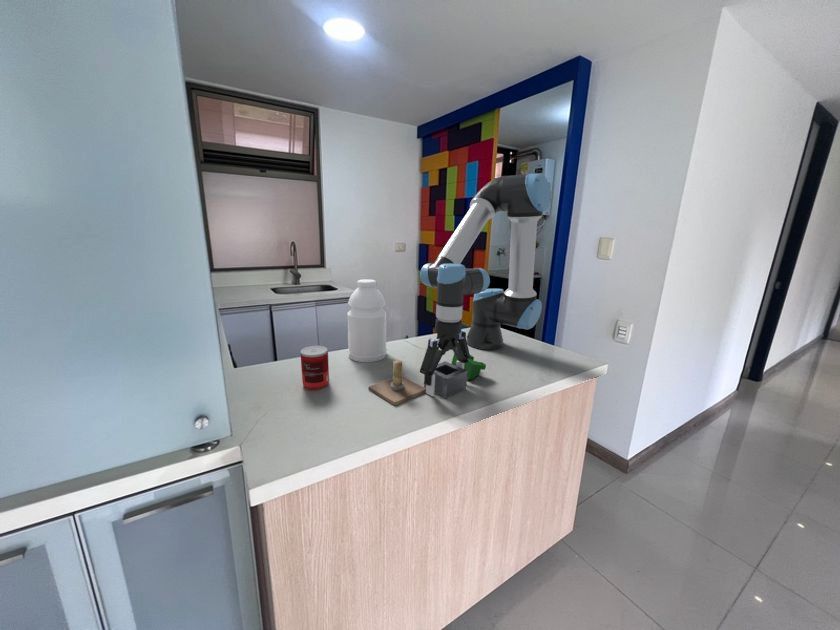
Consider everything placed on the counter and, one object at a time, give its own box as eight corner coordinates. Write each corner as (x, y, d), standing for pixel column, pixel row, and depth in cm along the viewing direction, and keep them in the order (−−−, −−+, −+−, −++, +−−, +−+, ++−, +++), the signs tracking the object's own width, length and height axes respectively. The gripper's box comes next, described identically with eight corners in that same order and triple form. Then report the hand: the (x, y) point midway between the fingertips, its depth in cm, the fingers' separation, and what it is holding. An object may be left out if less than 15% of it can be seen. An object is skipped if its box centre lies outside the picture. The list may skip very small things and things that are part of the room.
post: (399, 377, 106) (400, 351, 104) (426, 391, 98) (427, 363, 96) (368, 389, 98) (368, 361, 96) (394, 405, 90) (394, 375, 88)
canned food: (321, 376, 106) (319, 343, 103) (334, 385, 101) (332, 350, 98) (297, 383, 101) (295, 349, 98) (310, 393, 95) (308, 357, 93)
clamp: (476, 389, 110) (490, 369, 106) (462, 388, 107) (475, 368, 103) (462, 363, 119) (474, 344, 115) (448, 362, 116) (460, 342, 112)
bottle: (393, 353, 127) (394, 280, 119) (372, 366, 115) (371, 285, 107) (363, 346, 133) (362, 276, 126) (340, 357, 121) (337, 281, 114)
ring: (444, 378, 107) (445, 361, 105) (466, 388, 101) (467, 370, 99) (424, 387, 101) (424, 368, 99) (446, 398, 95) (447, 379, 93)
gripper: (465, 309, 106) (461, 372, 111) (408, 323, 89) (406, 395, 95) (485, 314, 101) (479, 380, 106) (427, 330, 84) (424, 406, 90)
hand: (445, 387), depth 101 cm, fingers open, 12 cm apart
